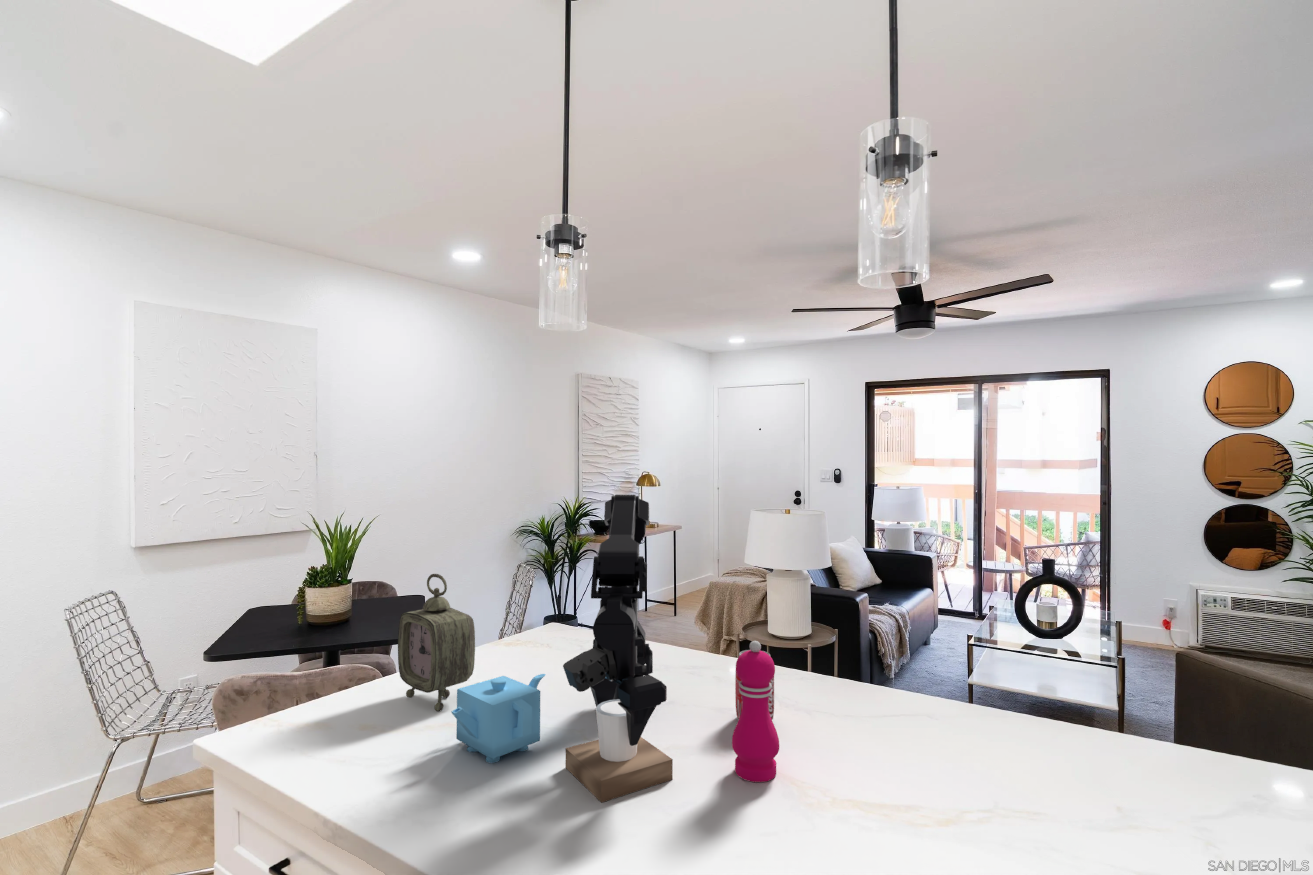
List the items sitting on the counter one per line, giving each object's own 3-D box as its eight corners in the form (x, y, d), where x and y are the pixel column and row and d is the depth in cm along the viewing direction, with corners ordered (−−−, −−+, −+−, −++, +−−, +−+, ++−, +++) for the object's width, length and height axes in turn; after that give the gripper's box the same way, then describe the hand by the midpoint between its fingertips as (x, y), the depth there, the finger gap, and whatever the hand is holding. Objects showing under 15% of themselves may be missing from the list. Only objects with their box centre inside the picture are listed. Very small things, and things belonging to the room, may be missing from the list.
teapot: (427, 750, 106) (428, 681, 106) (519, 718, 119) (520, 656, 119) (480, 784, 95) (481, 706, 95) (574, 744, 108) (575, 676, 108)
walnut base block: (565, 767, 100) (565, 747, 100) (632, 748, 106) (632, 730, 106) (601, 802, 90) (601, 780, 90) (672, 779, 96) (672, 759, 96)
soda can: (772, 713, 121) (772, 649, 122) (775, 729, 114) (775, 660, 115) (735, 711, 122) (734, 648, 122) (735, 727, 115) (735, 659, 115)
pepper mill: (782, 765, 101) (782, 636, 101) (775, 787, 94) (775, 649, 95) (737, 758, 103) (737, 632, 104) (727, 779, 96) (727, 645, 97)
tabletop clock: (397, 697, 129) (398, 572, 129) (438, 685, 136) (439, 566, 136) (435, 717, 119) (437, 581, 120) (477, 702, 126) (478, 575, 127)
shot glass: (596, 743, 102) (596, 698, 102) (639, 742, 102) (639, 697, 102) (595, 764, 95) (595, 716, 95) (641, 762, 95) (641, 714, 95)
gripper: (545, 624, 102) (545, 723, 102) (599, 655, 87) (599, 772, 86) (607, 615, 108) (607, 709, 108) (668, 642, 93) (668, 752, 92)
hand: (618, 733), depth 98 cm, fingers open, 9 cm apart
